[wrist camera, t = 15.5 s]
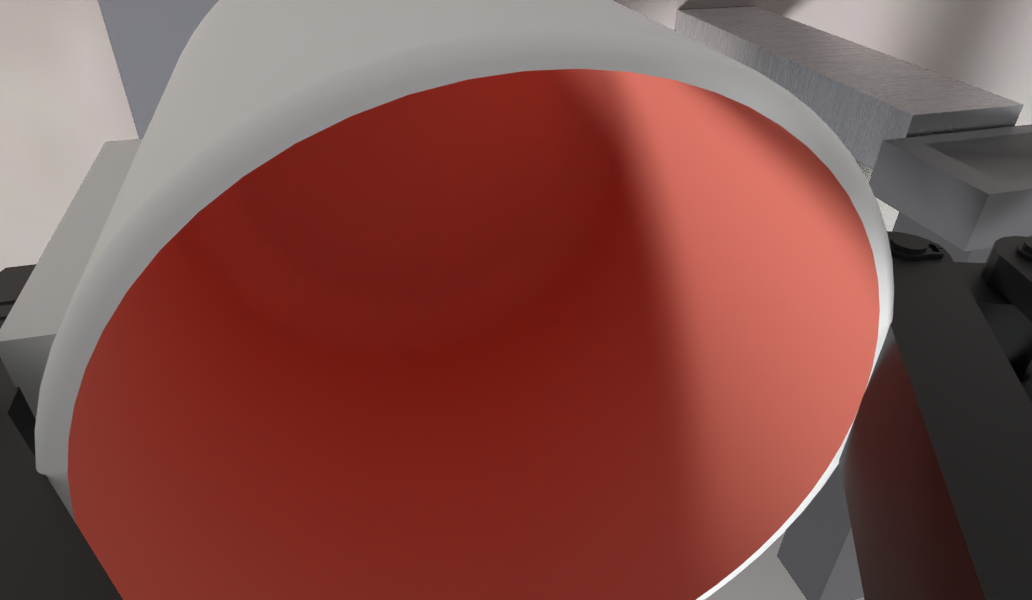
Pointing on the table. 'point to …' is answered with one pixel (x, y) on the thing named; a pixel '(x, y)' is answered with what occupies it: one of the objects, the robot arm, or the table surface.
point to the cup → (462, 312)
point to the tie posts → (847, 80)
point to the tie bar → (967, 238)
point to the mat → (149, 46)
